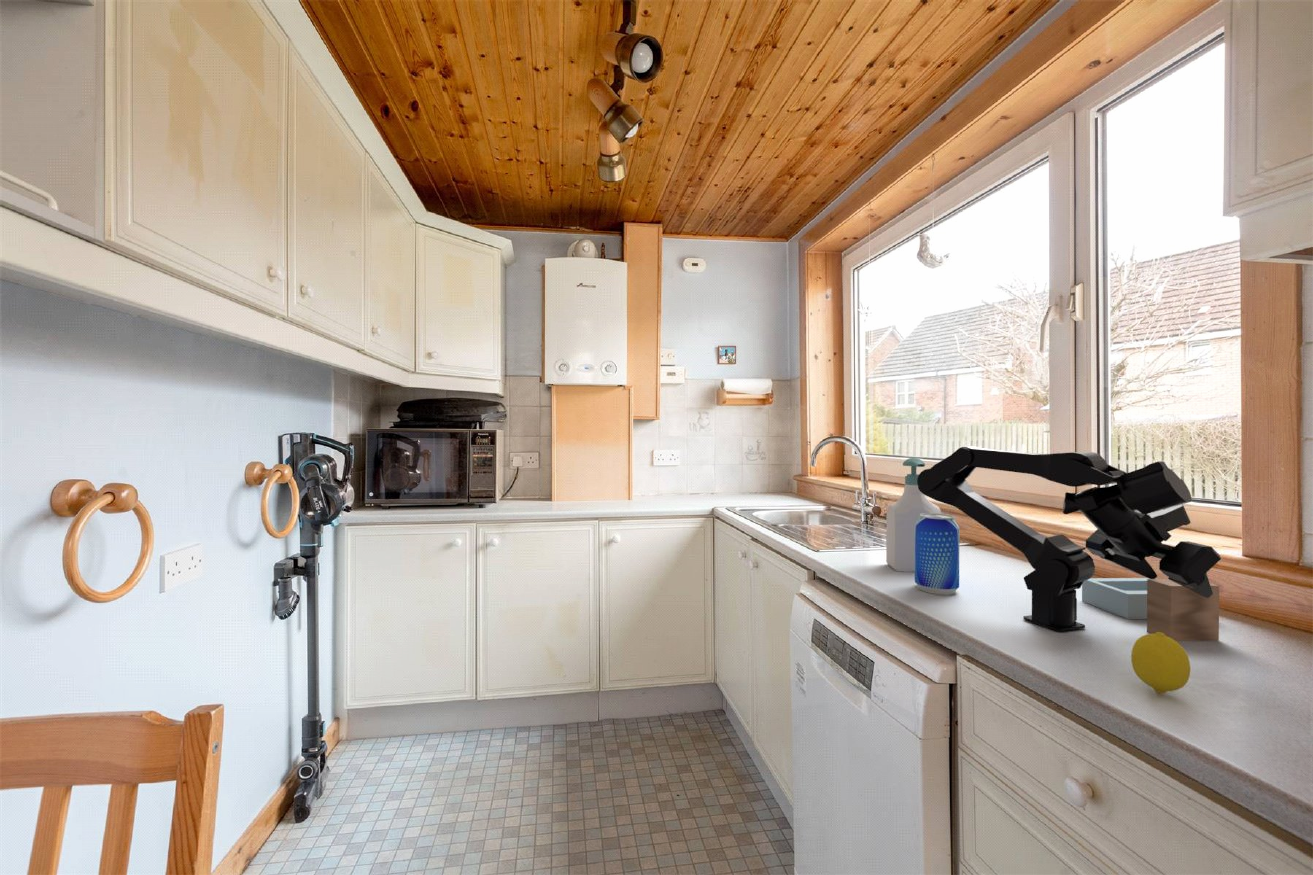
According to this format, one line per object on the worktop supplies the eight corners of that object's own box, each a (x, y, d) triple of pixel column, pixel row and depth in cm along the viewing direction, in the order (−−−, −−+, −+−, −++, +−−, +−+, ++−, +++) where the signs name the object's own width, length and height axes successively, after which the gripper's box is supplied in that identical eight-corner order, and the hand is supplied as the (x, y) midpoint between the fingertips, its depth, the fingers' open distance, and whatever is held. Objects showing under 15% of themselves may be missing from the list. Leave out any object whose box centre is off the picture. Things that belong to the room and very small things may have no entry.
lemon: (1119, 683, 71) (1120, 625, 71) (1157, 682, 71) (1157, 623, 71) (1162, 705, 65) (1163, 641, 65) (1202, 703, 66) (1203, 639, 66)
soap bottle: (897, 573, 126) (897, 458, 125) (886, 564, 134) (886, 456, 133) (945, 574, 124) (946, 458, 124) (931, 565, 133) (931, 456, 132)
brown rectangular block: (1170, 641, 85) (1170, 586, 85) (1146, 631, 89) (1147, 579, 89) (1218, 640, 85) (1219, 585, 85) (1193, 631, 89) (1193, 578, 89)
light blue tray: (1127, 618, 95) (1128, 594, 95) (1081, 600, 105) (1082, 578, 105) (1205, 618, 95) (1206, 593, 95) (1152, 600, 105) (1152, 577, 105)
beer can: (960, 587, 114) (960, 514, 114) (958, 598, 107) (958, 520, 106) (917, 581, 118) (917, 511, 118) (912, 591, 111) (912, 516, 111)
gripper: (1210, 492, 77) (1284, 568, 77) (1103, 478, 95) (1163, 539, 95) (1153, 545, 77) (1227, 620, 77) (1058, 521, 96) (1118, 581, 96)
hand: (1180, 586), depth 86 cm, fingers open, 9 cm apart
